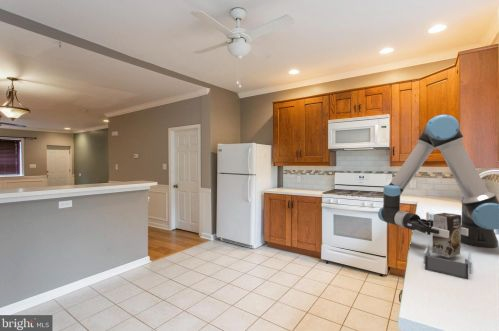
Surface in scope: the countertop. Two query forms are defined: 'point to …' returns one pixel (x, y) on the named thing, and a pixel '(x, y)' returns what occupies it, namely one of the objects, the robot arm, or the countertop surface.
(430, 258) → the gray u-shaped bracket
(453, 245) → the coffee box
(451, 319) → the countertop surface
